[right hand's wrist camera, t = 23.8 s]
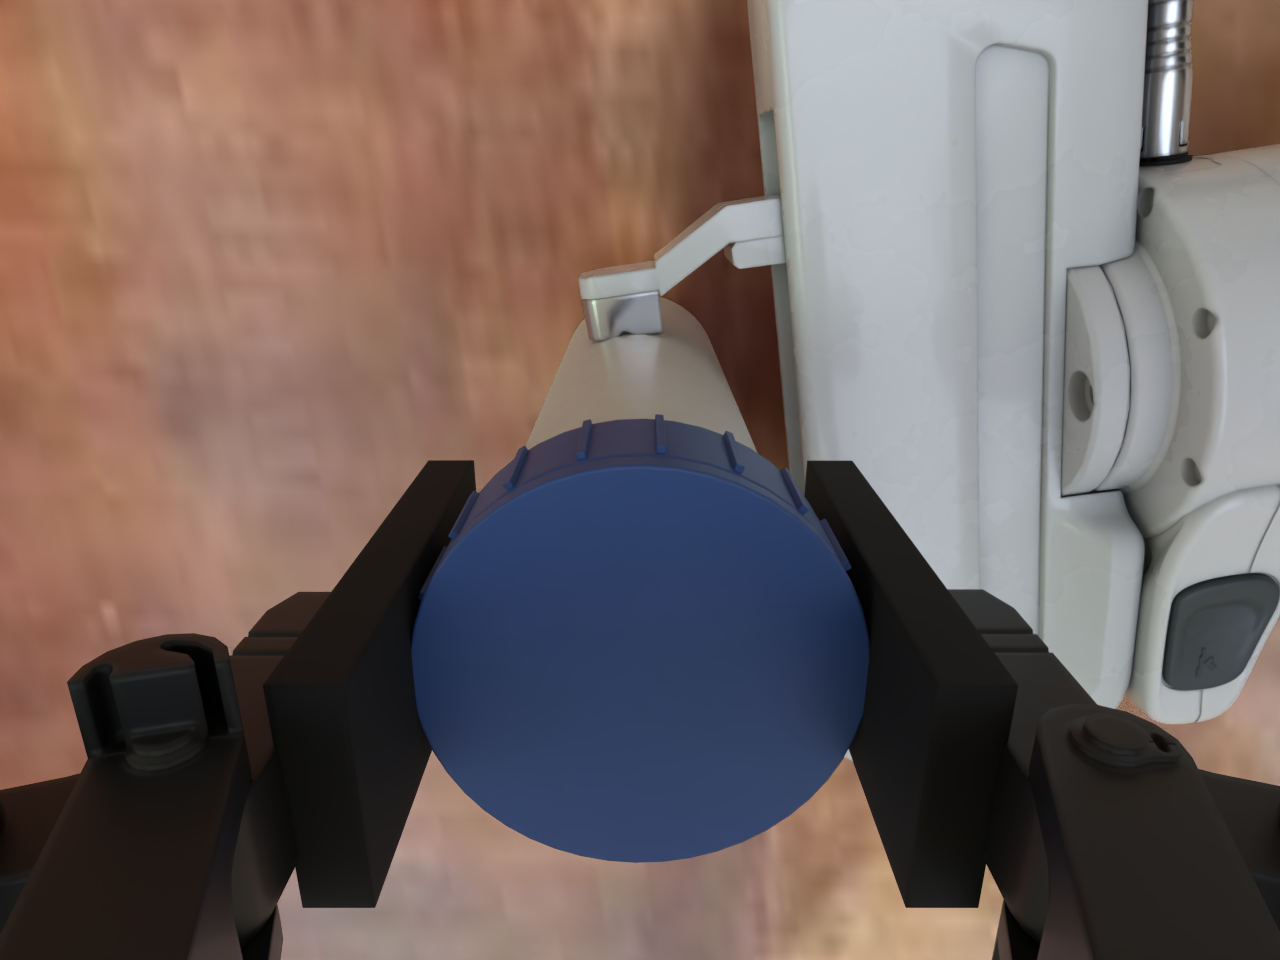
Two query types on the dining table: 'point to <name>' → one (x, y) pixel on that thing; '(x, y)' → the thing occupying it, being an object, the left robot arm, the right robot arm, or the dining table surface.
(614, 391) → the jar
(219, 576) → the dining table surface
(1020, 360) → the left robot arm
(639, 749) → the lid
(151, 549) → the dining table surface
